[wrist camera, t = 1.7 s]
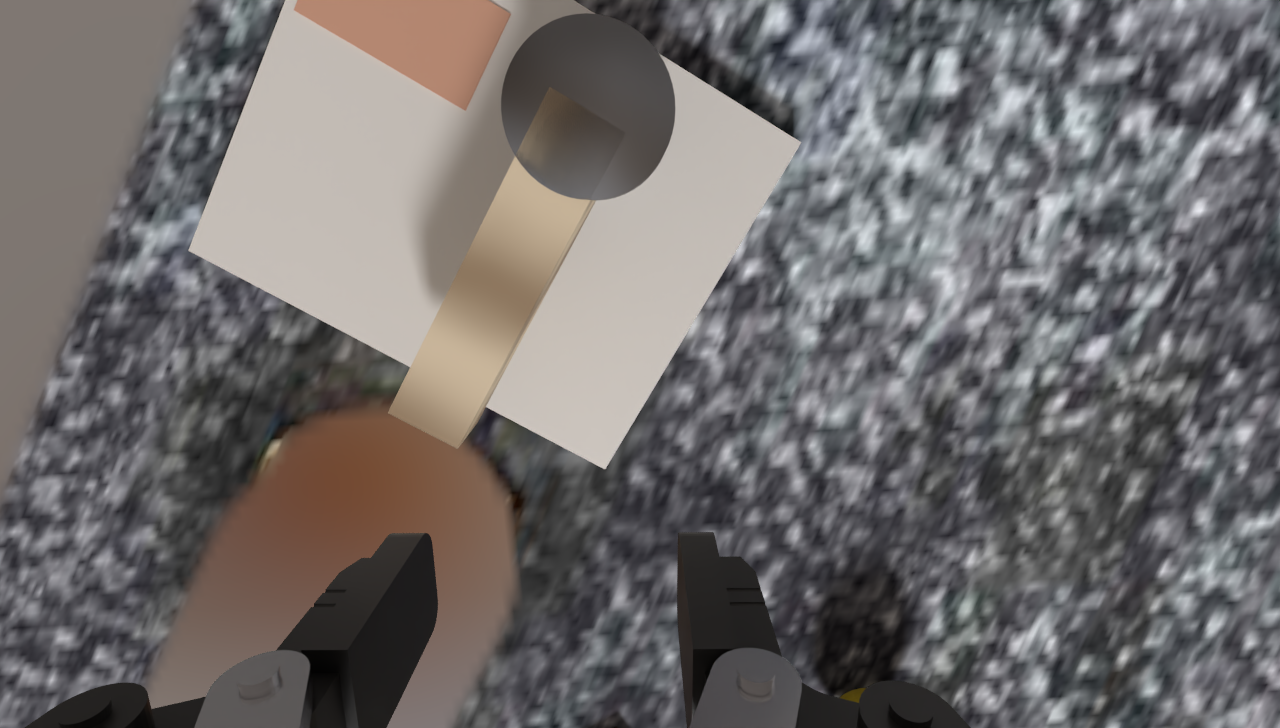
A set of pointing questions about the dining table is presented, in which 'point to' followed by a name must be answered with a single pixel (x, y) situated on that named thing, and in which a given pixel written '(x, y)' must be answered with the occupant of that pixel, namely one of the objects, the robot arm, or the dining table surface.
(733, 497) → the dining table surface
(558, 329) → the panel with salmon stripe
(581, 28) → the wooden handled scoop
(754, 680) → the robot arm
